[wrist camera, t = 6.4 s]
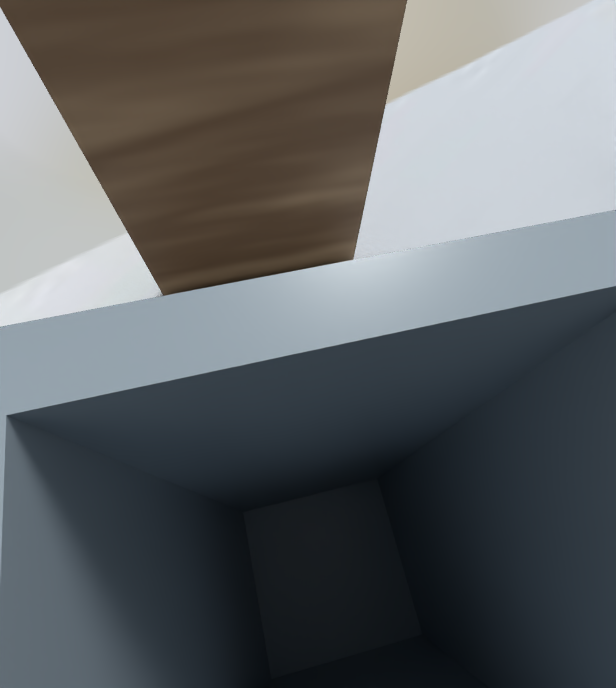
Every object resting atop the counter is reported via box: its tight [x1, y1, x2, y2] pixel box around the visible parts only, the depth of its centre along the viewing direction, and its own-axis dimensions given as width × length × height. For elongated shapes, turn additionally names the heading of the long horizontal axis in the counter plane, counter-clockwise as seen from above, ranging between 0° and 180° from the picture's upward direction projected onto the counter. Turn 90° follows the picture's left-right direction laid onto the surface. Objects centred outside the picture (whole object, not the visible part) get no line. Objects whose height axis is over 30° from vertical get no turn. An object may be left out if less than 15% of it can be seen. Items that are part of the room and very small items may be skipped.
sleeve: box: [0, 210, 616, 688], centre depth 8 cm, size 6×6×12 cm
